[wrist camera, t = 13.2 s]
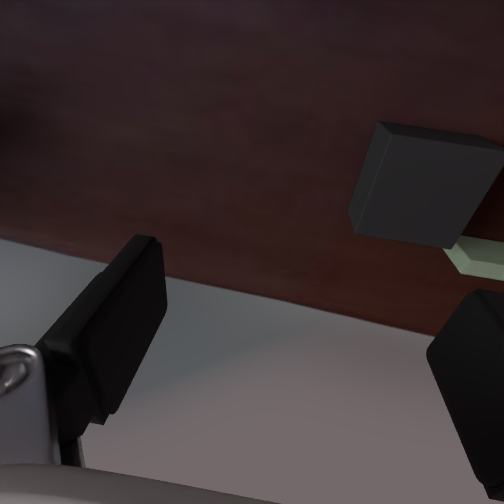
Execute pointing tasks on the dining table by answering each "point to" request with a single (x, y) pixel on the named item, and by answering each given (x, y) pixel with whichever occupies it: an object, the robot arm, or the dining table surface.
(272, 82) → the dining table surface
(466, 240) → the bracket
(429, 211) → the dark grey square block
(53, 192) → the dining table surface
